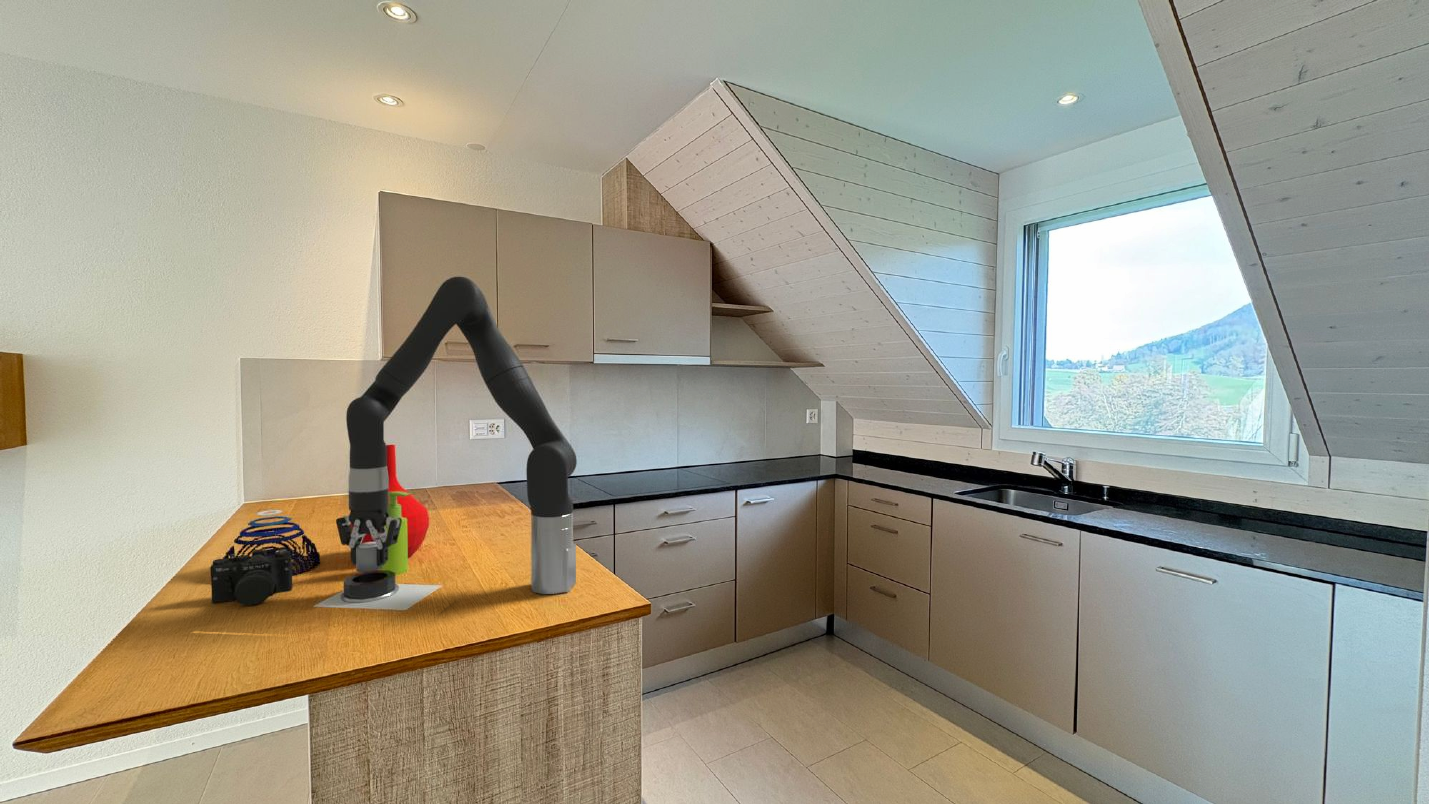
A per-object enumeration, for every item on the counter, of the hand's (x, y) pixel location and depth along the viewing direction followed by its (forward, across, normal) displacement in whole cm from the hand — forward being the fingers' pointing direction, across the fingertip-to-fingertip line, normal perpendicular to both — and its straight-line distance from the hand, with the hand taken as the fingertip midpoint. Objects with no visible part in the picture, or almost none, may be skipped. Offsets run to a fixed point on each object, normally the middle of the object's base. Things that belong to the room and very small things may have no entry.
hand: (369, 563), depth 128 cm
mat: (+7, -3, +1) cm, 8 cm away
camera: (+7, +23, +6) cm, 25 cm away
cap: (+1, 0, 0) cm, 1 cm away
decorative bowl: (+8, +35, -14) cm, 39 cm away
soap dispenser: (+7, +3, -14) cm, 16 cm away
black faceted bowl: (+6, 0, 0) cm, 6 cm away
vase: (+7, +12, -26) cm, 29 cm away
